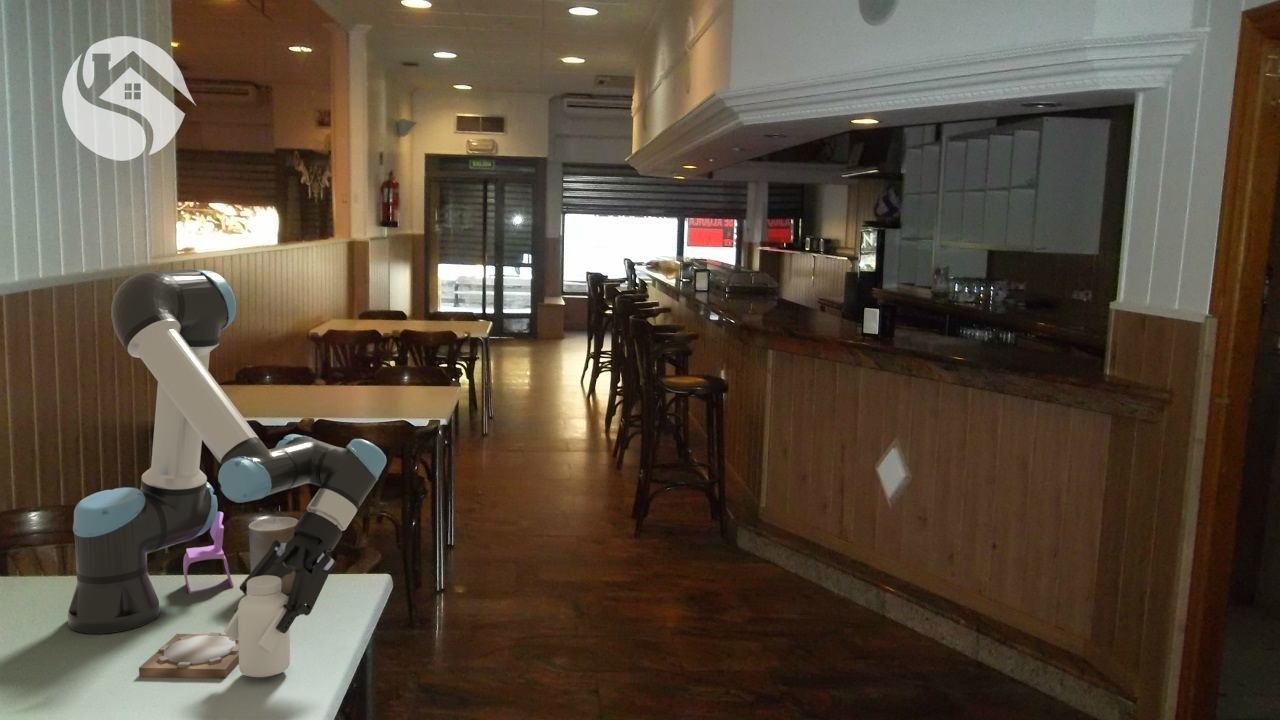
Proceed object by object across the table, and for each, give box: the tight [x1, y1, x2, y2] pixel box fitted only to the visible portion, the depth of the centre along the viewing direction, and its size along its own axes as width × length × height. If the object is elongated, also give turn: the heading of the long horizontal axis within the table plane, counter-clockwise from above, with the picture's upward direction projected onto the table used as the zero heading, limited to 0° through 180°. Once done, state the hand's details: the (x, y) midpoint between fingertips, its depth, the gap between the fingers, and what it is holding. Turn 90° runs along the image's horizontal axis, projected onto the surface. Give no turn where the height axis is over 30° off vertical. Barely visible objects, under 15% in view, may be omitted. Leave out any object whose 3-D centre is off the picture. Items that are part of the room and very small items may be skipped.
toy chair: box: [182, 511, 234, 595], centre depth 210 cm, size 8×9×15 cm
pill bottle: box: [237, 575, 291, 678], centre depth 170 cm, size 8×8×15 cm
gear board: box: [138, 632, 239, 679], centre depth 177 cm, size 14×14×2 cm
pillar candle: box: [248, 516, 299, 596], centre depth 209 cm, size 10×10×15 cm
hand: (246, 642), depth 168 cm, fingers closed on pill bottle, 8 cm apart
